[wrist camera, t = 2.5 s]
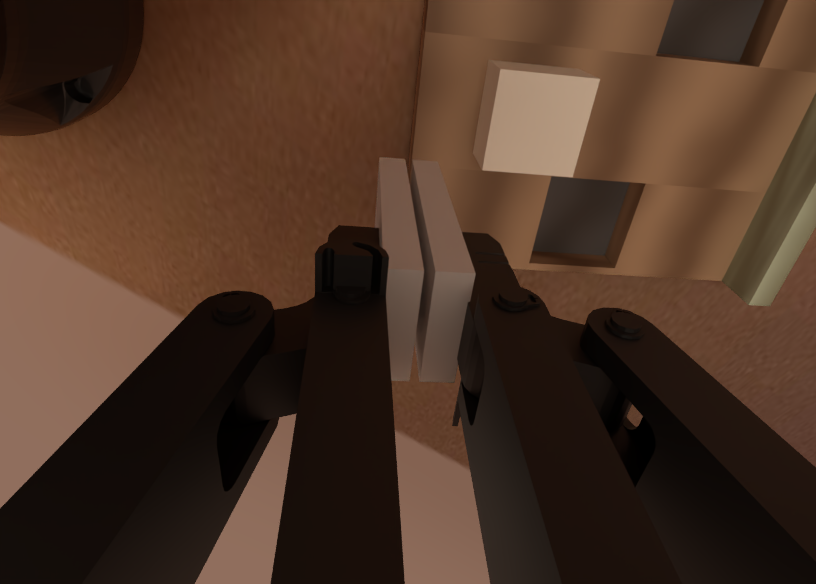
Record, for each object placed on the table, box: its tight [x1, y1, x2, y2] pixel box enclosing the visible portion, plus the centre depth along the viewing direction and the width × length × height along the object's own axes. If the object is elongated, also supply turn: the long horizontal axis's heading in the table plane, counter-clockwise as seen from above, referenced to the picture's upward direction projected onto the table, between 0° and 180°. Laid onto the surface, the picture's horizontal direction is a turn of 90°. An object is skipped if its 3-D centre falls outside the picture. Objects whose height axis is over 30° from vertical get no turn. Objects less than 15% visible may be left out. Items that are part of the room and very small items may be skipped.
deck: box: [407, 0, 816, 306], centre depth 29 cm, size 24×20×5 cm
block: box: [473, 60, 600, 177], centre depth 27 cm, size 5×5×3 cm
